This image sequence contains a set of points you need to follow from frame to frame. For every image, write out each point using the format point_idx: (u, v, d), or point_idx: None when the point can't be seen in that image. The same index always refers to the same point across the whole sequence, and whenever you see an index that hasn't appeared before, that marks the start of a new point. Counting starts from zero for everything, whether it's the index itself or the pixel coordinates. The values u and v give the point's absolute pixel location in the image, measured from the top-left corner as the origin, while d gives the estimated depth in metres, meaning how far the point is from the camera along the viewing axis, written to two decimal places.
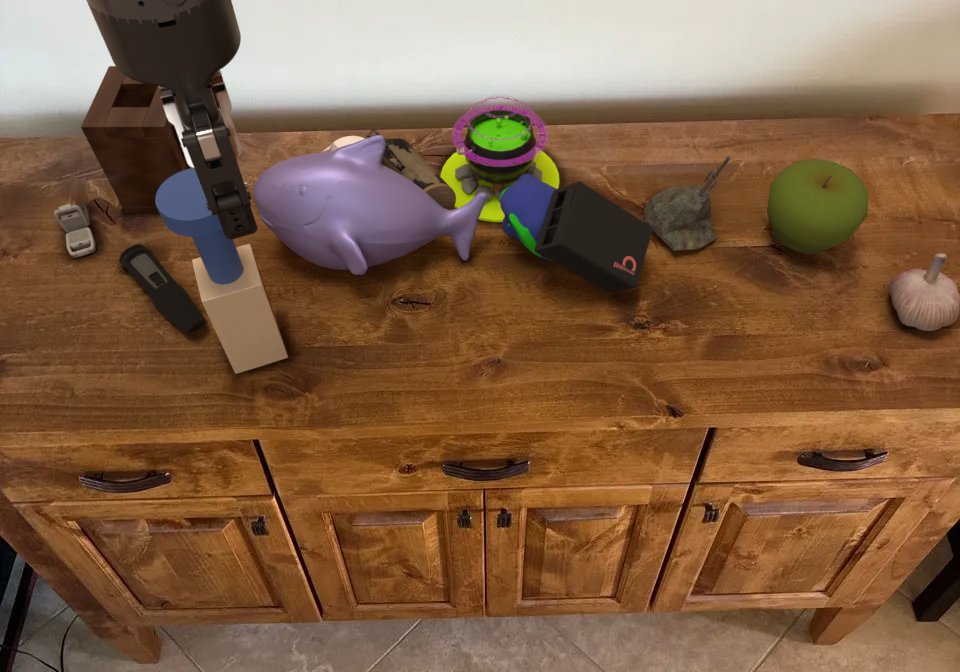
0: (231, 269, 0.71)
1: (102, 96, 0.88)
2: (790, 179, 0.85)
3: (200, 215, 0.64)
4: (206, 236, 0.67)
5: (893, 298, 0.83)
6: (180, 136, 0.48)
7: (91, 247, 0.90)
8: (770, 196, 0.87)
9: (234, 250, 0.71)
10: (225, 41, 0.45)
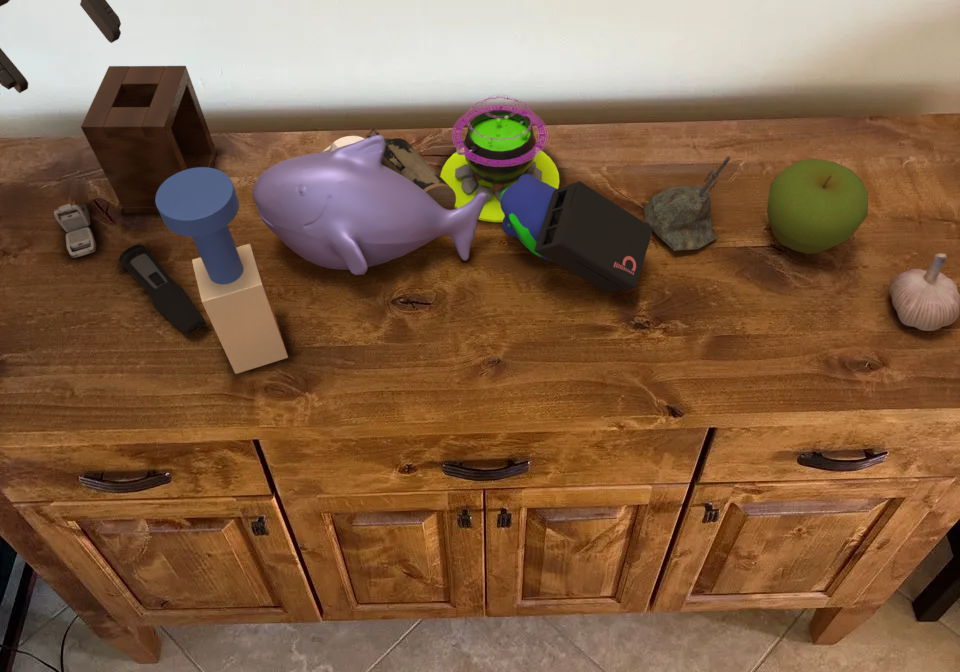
0: (231, 269, 0.71)
1: (102, 96, 0.88)
2: (790, 179, 0.85)
3: (200, 215, 0.64)
4: (206, 236, 0.67)
5: (893, 298, 0.83)
6: None
7: (91, 247, 0.90)
8: (770, 196, 0.87)
9: (234, 250, 0.71)
10: None
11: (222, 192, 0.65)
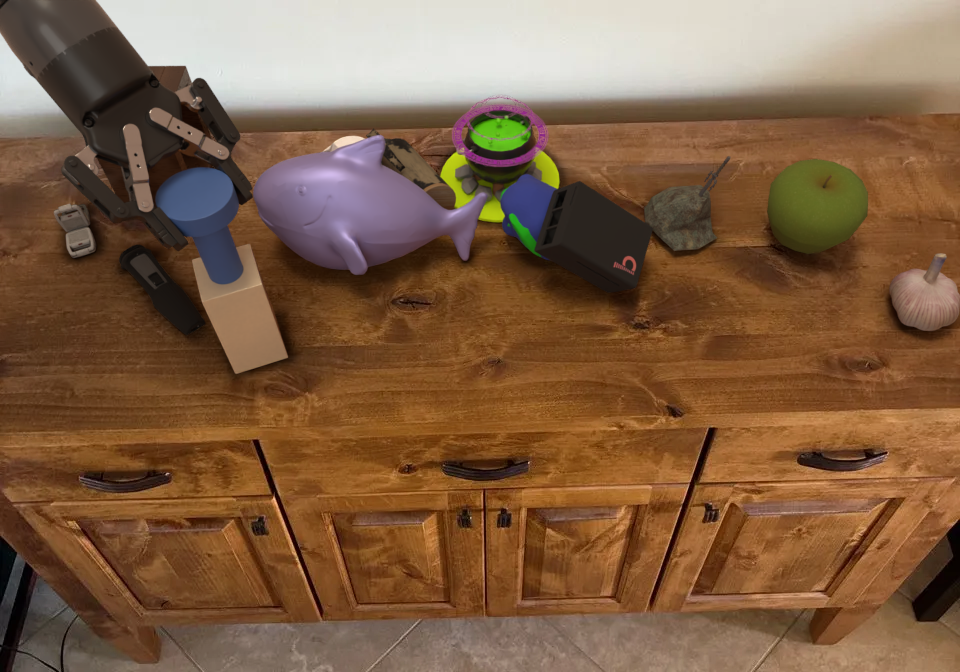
0: (231, 269, 0.71)
1: None
2: (790, 179, 0.85)
3: (200, 215, 0.64)
4: (205, 236, 0.67)
5: (893, 298, 0.83)
6: (182, 122, 0.64)
7: (91, 247, 0.90)
8: (770, 196, 0.87)
9: (234, 250, 0.71)
10: None
11: (222, 193, 0.65)
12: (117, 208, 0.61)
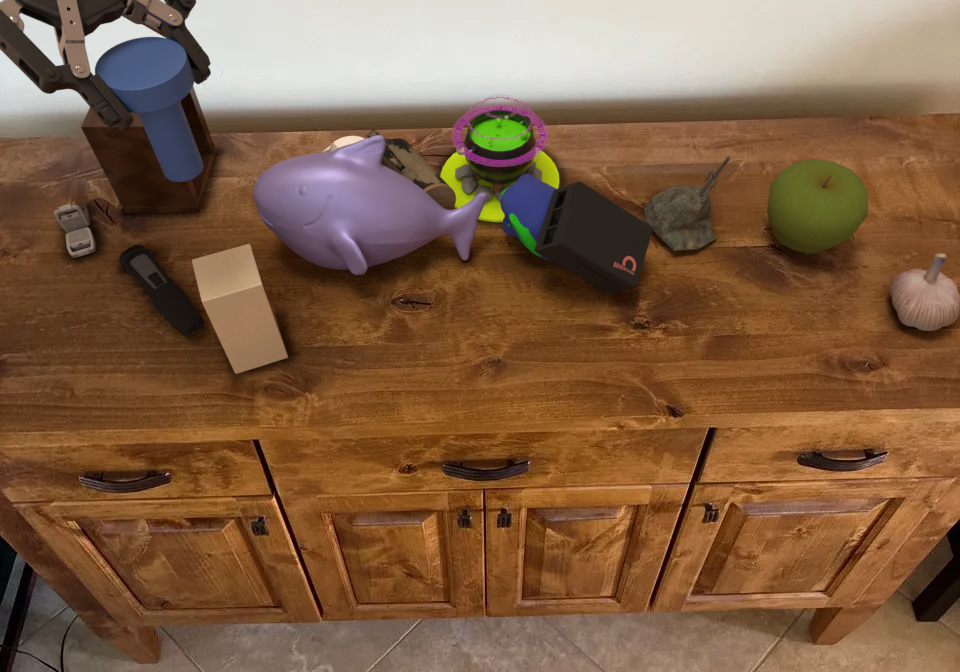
0: (188, 162, 0.62)
1: None
2: (790, 179, 0.85)
3: (146, 85, 0.54)
4: (155, 117, 0.58)
5: (893, 298, 0.83)
6: None
7: (91, 247, 0.90)
8: (770, 196, 0.87)
9: (192, 140, 0.62)
10: None
11: (173, 62, 0.56)
12: (46, 70, 0.52)
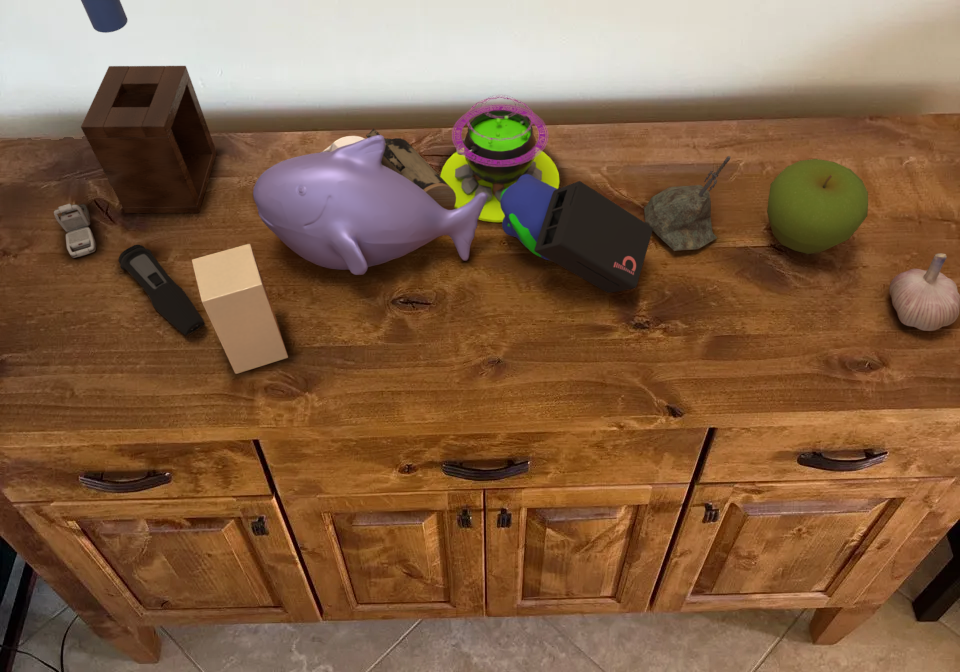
0: (111, 14, 0.72)
1: (102, 96, 0.88)
2: (790, 179, 0.85)
3: None
4: None
5: (893, 298, 0.83)
6: None
7: (91, 247, 0.90)
8: (770, 196, 0.87)
9: None
10: None
11: None
12: None
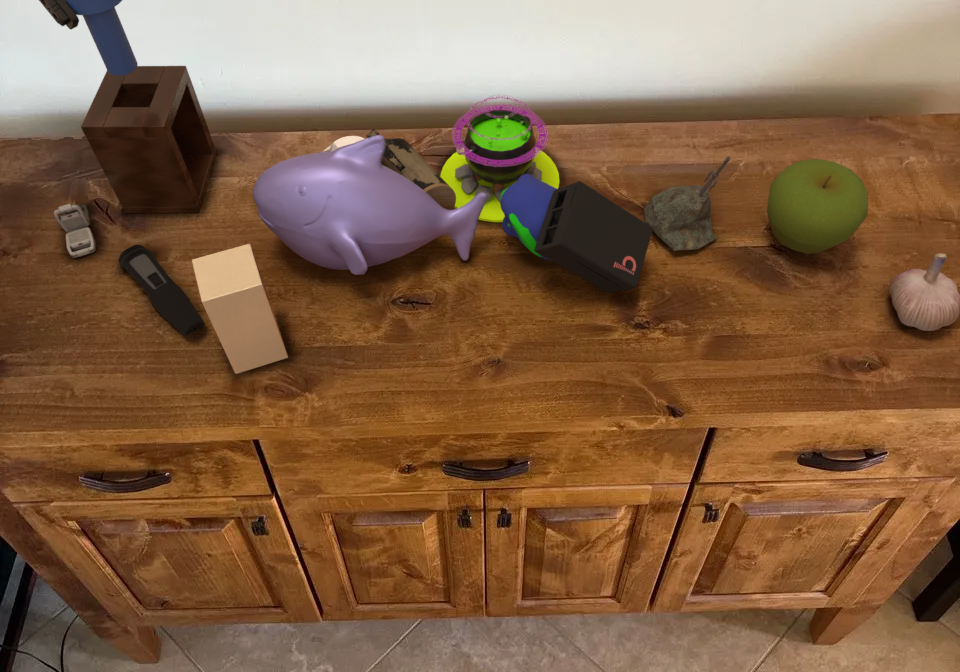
0: (124, 59, 0.83)
1: (102, 96, 0.88)
2: (790, 179, 0.85)
3: None
4: (97, 21, 0.79)
5: (893, 298, 0.83)
6: None
7: (91, 247, 0.90)
8: (770, 196, 0.87)
9: (126, 42, 0.82)
10: None
11: None
12: None
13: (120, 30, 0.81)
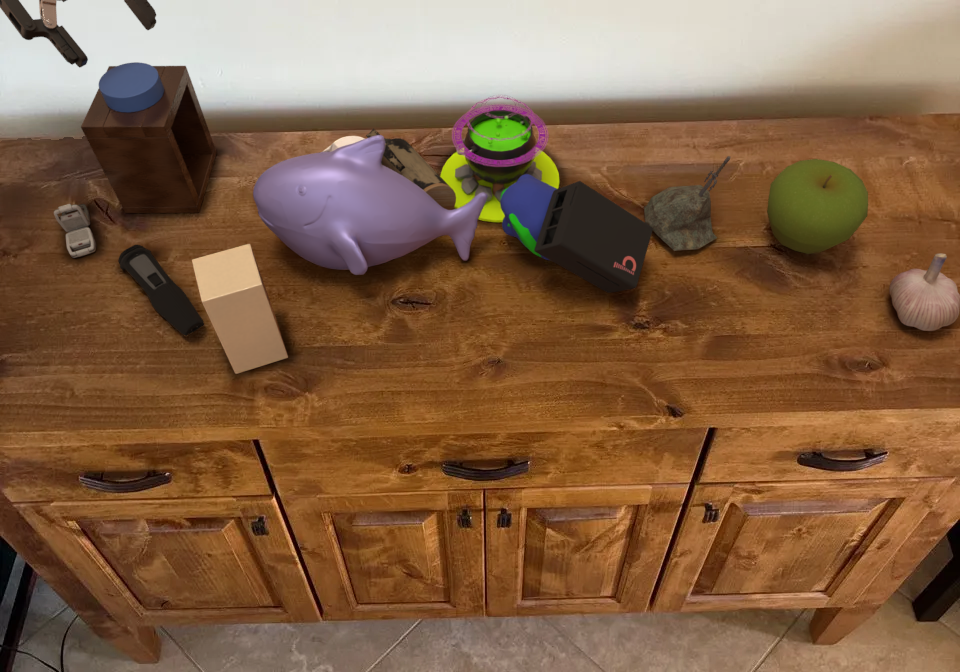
0: None
1: (102, 96, 0.88)
2: (790, 179, 0.85)
3: (131, 94, 0.84)
4: None
5: (893, 298, 0.83)
6: None
7: (91, 247, 0.90)
8: (770, 196, 0.87)
9: None
10: None
11: (149, 79, 0.86)
12: (26, 22, 0.76)
13: None
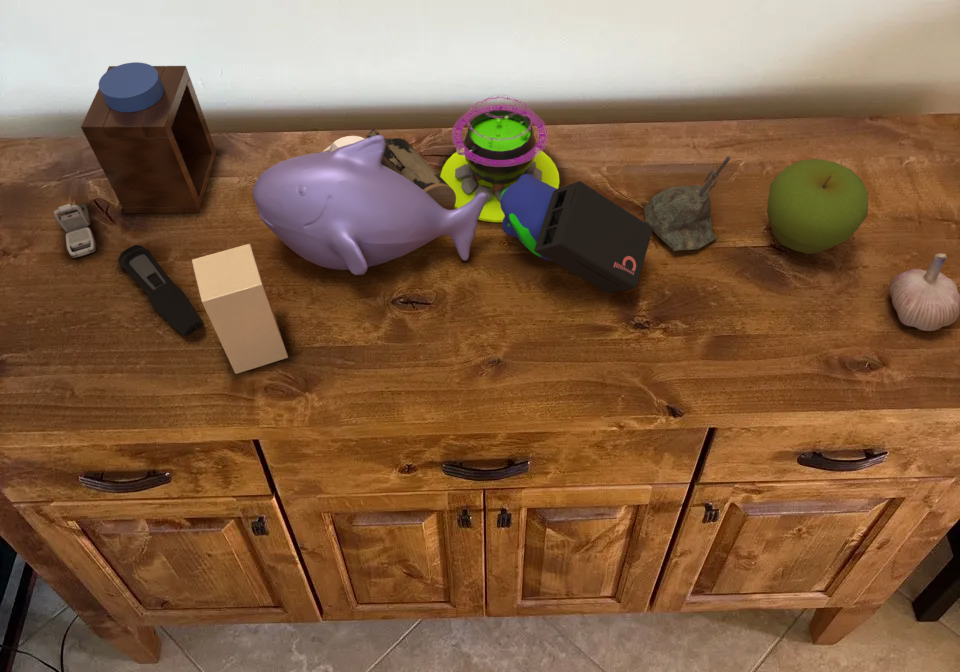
0: None
1: (102, 96, 0.88)
2: (790, 179, 0.85)
3: (131, 94, 0.84)
4: None
5: (893, 298, 0.83)
6: None
7: (91, 247, 0.90)
8: (770, 196, 0.87)
9: None
10: None
11: (149, 79, 0.86)
12: None
13: None
